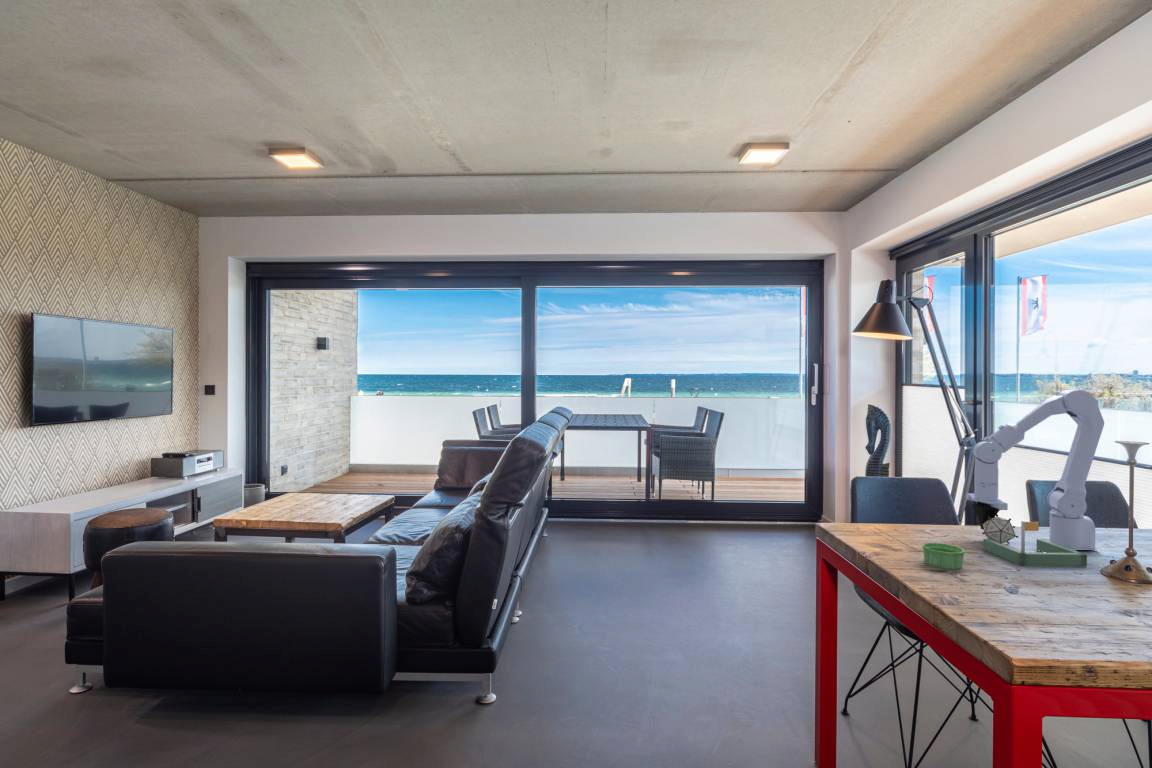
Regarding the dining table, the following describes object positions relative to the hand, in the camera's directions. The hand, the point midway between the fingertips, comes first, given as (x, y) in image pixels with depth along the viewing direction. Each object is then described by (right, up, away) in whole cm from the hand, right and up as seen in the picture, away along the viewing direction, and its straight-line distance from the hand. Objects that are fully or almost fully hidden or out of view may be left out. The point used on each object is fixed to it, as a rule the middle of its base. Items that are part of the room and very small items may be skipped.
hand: (985, 529), depth 168 cm
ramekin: (-27, -3, -23) cm, 36 cm away
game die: (0, -3, -5) cm, 6 cm away
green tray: (0, -3, -18) cm, 18 cm away
